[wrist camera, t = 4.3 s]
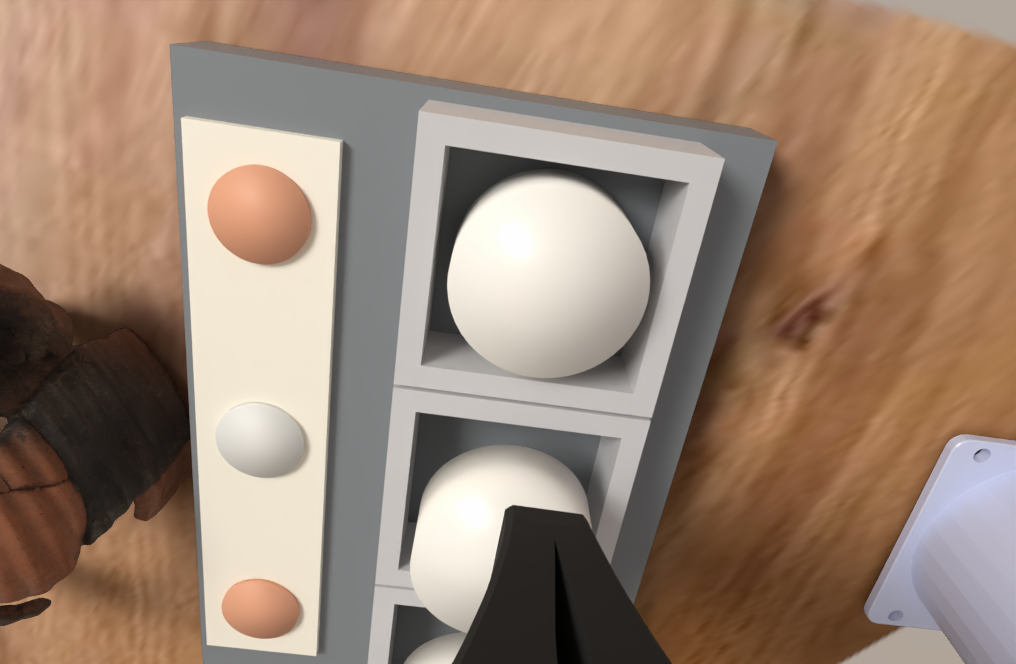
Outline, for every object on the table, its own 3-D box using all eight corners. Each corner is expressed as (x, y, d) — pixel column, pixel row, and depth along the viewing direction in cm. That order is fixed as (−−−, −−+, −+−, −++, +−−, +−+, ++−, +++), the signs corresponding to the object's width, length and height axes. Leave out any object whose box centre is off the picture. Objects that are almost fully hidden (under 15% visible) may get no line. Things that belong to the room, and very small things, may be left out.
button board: (750, 128, 18) (812, 157, 14) (594, 659, 26) (608, 763, 23) (206, 41, 17) (122, 48, 13) (224, 620, 25) (177, 721, 22)
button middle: (604, 456, 17) (616, 509, 15) (571, 586, 19) (578, 647, 17) (428, 434, 17) (419, 485, 15) (412, 569, 19) (402, 629, 17)
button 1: (653, 183, 16) (672, 205, 14) (612, 351, 18) (625, 389, 16) (465, 154, 16) (459, 173, 14) (444, 328, 17) (436, 364, 16)
